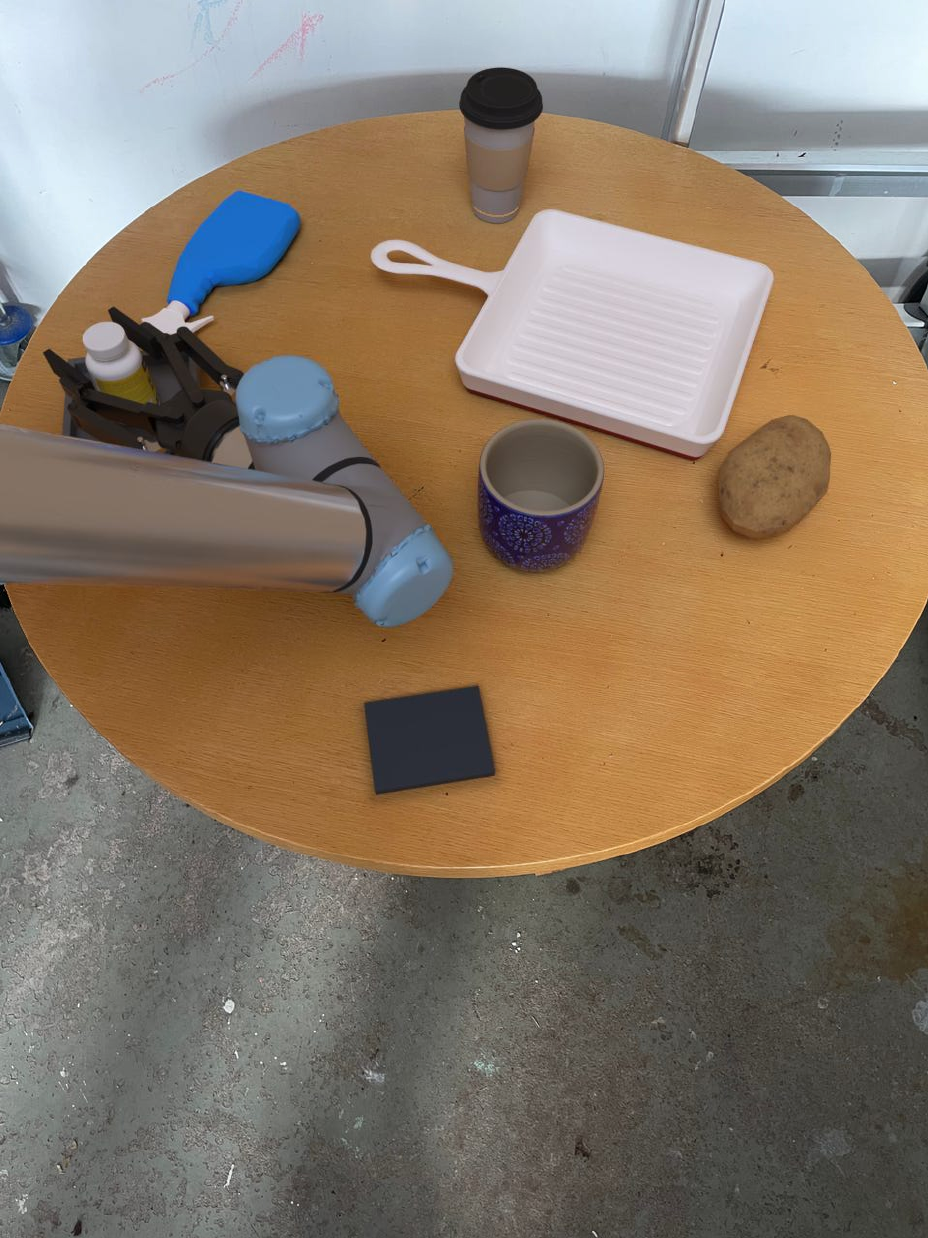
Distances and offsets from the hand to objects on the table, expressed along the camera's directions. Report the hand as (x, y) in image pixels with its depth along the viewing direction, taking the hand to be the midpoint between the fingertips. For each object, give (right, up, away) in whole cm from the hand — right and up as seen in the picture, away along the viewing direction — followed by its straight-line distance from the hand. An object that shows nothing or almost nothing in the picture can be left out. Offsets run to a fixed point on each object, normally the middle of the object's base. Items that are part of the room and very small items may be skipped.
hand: (84, 339), depth 87 cm
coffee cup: (+43, +23, +22) cm, 53 cm away
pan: (+48, +5, +11) cm, 50 cm away
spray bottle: (+10, +12, +15) cm, 21 cm away
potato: (+68, -17, -1) cm, 70 cm away
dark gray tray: (+4, -6, +4) cm, 8 cm away
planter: (+45, -21, -3) cm, 50 cm away
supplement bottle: (+4, -6, +4) cm, 8 cm away
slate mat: (+35, -39, -14) cm, 54 cm away
